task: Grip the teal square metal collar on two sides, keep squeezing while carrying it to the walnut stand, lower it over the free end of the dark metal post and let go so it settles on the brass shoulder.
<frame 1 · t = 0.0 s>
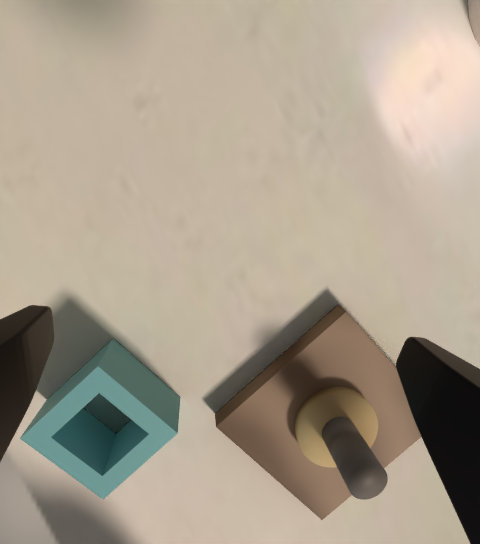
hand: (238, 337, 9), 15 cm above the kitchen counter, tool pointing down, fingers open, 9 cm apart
collar: (114, 398, 26), on the kitchen counter
stand: (326, 410, 28), on the kitchen counter
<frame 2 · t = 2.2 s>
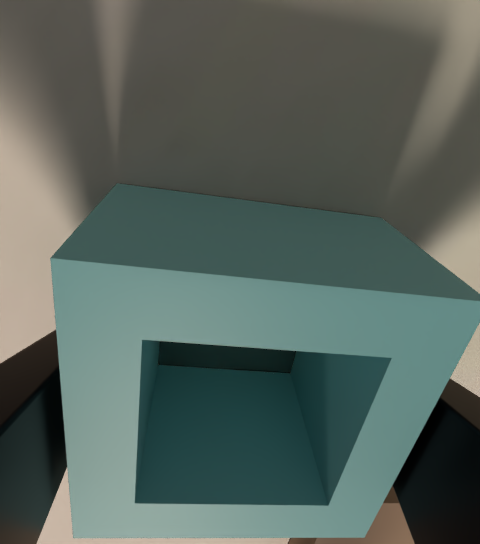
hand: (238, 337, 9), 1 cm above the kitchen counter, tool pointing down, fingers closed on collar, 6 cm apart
collar: (235, 313, 10), on the kitchen counter, touching gripper
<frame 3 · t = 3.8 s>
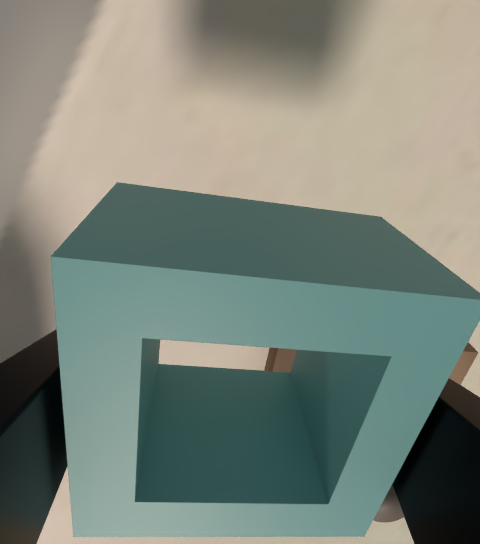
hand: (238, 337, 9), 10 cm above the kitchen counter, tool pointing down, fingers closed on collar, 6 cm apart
collar: (235, 312, 10), point 9 cm above the kitchen counter, touching gripper
stand: (345, 402, 25), on the kitchen counter
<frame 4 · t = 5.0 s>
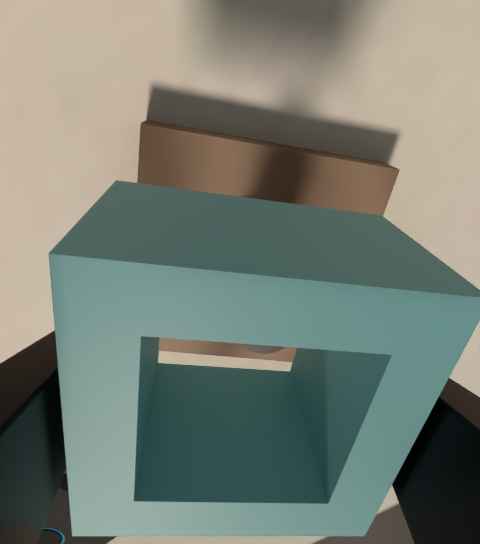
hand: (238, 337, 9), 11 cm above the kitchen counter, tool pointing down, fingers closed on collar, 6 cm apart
collar: (235, 311, 10), point 10 cm above the kitchen counter, touching gripper
stand: (248, 254, 20), on the kitchen counter
smart home device: (26, 537, 32), on the kitchen counter
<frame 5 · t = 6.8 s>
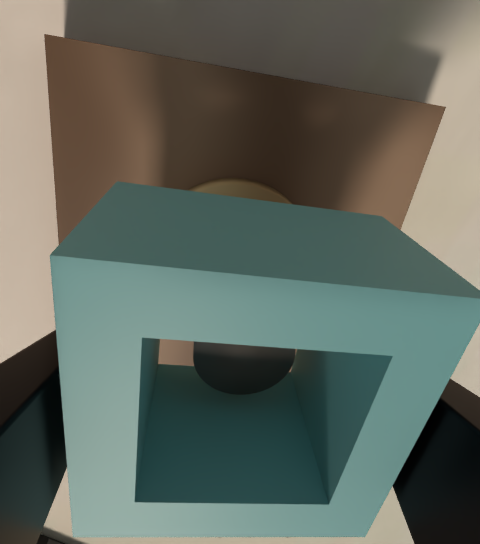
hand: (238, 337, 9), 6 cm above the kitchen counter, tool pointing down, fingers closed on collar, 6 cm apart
collar: (236, 312, 10), point 5 cm above the kitchen counter, touching gripper
stand: (229, 241, 15), on the kitchen counter
when the fingers open (5 cm above the kitchen counter, at t = 8.0 s): collar drops 1 cm, resting on stand.
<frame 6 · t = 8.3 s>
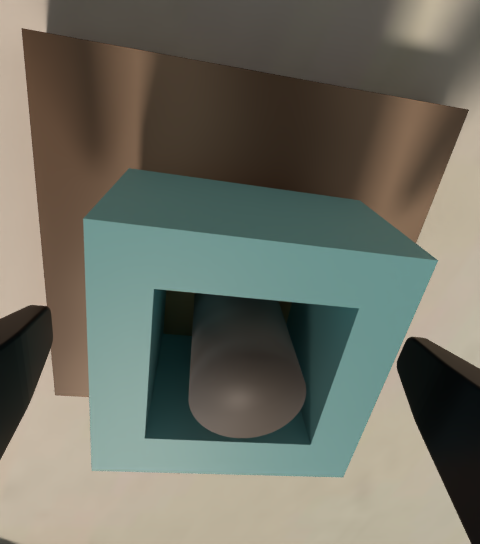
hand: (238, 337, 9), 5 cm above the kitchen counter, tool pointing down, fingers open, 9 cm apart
collar: (232, 286, 11), point 2 cm above the kitchen counter, touching stand
stand: (229, 254, 14), on the kitchen counter
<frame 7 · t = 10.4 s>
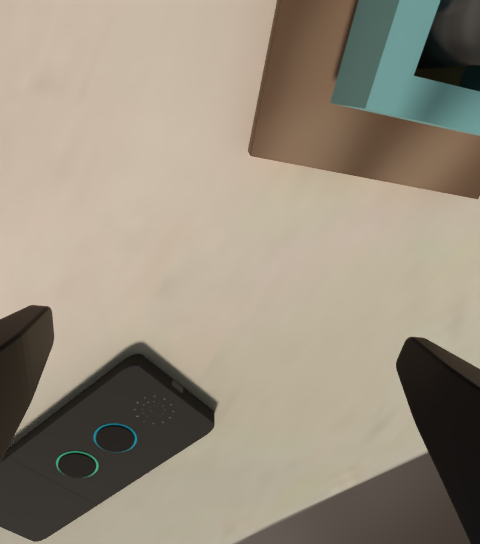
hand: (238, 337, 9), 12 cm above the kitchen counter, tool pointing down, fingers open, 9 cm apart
collar: (430, 32, 15), point 2 cm above the kitchen counter, touching stand
stand: (402, 41, 17), on the kitchen counter
smart home device: (86, 444, 28), on the kitchen counter
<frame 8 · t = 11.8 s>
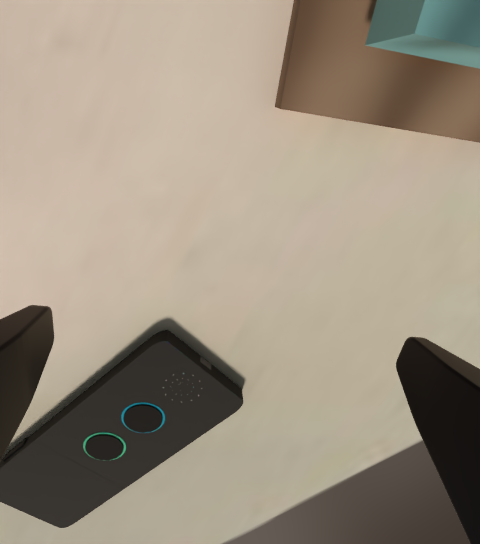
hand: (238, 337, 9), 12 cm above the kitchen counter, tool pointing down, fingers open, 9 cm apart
smart home device: (111, 427, 28), on the kitchen counter
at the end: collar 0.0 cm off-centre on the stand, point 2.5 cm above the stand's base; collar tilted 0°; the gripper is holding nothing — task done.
